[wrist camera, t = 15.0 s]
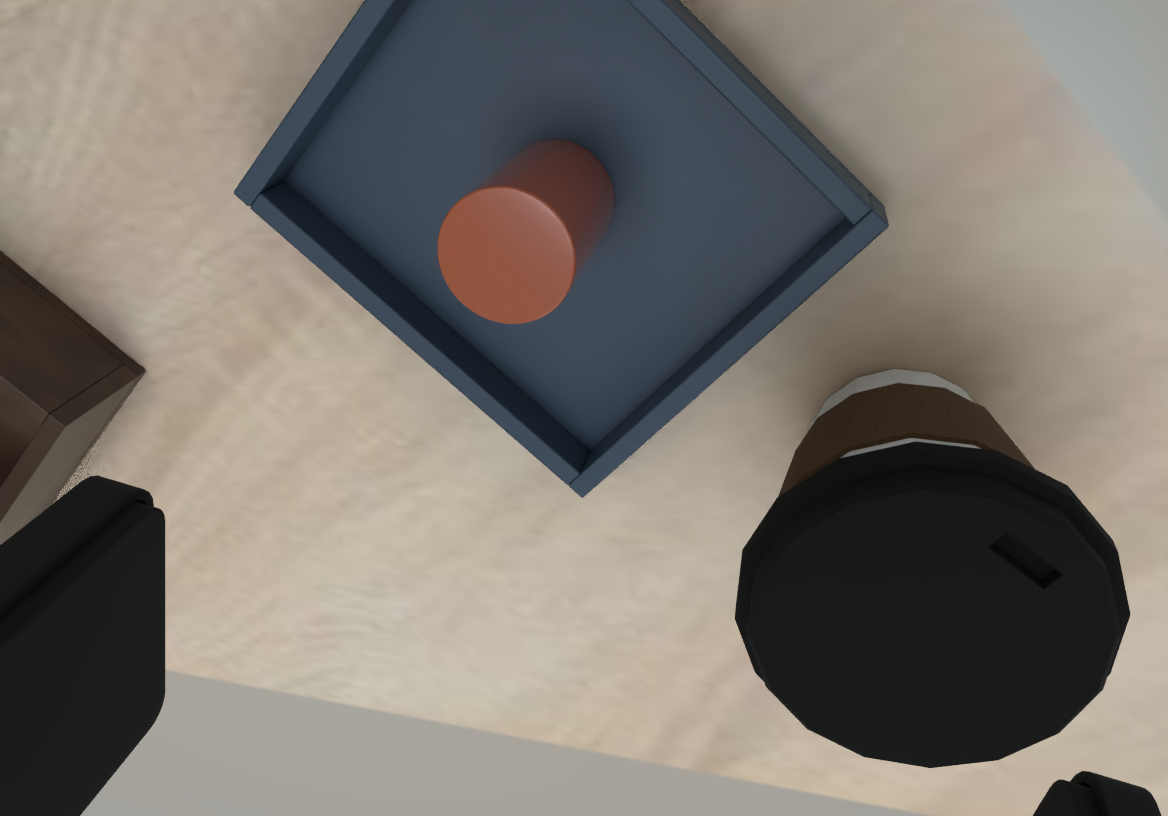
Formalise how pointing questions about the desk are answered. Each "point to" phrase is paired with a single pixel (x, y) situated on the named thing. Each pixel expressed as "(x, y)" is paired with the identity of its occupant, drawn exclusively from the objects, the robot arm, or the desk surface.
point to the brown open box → (49, 394)
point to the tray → (636, 234)
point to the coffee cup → (927, 582)
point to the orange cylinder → (526, 231)
